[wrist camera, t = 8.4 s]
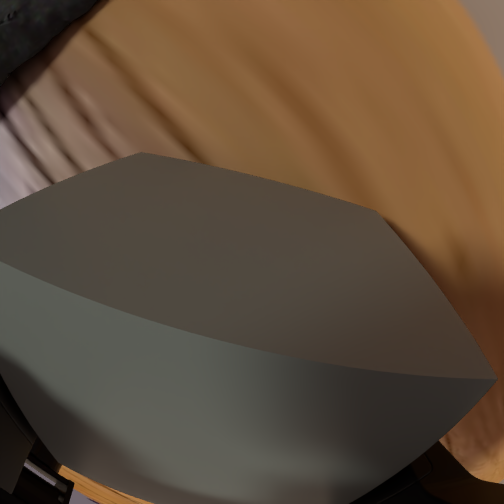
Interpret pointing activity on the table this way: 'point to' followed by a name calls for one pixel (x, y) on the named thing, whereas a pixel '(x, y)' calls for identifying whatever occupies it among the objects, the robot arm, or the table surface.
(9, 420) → the robot arm
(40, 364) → the grey angular block
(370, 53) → the table surface
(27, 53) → the dark slate chunk
